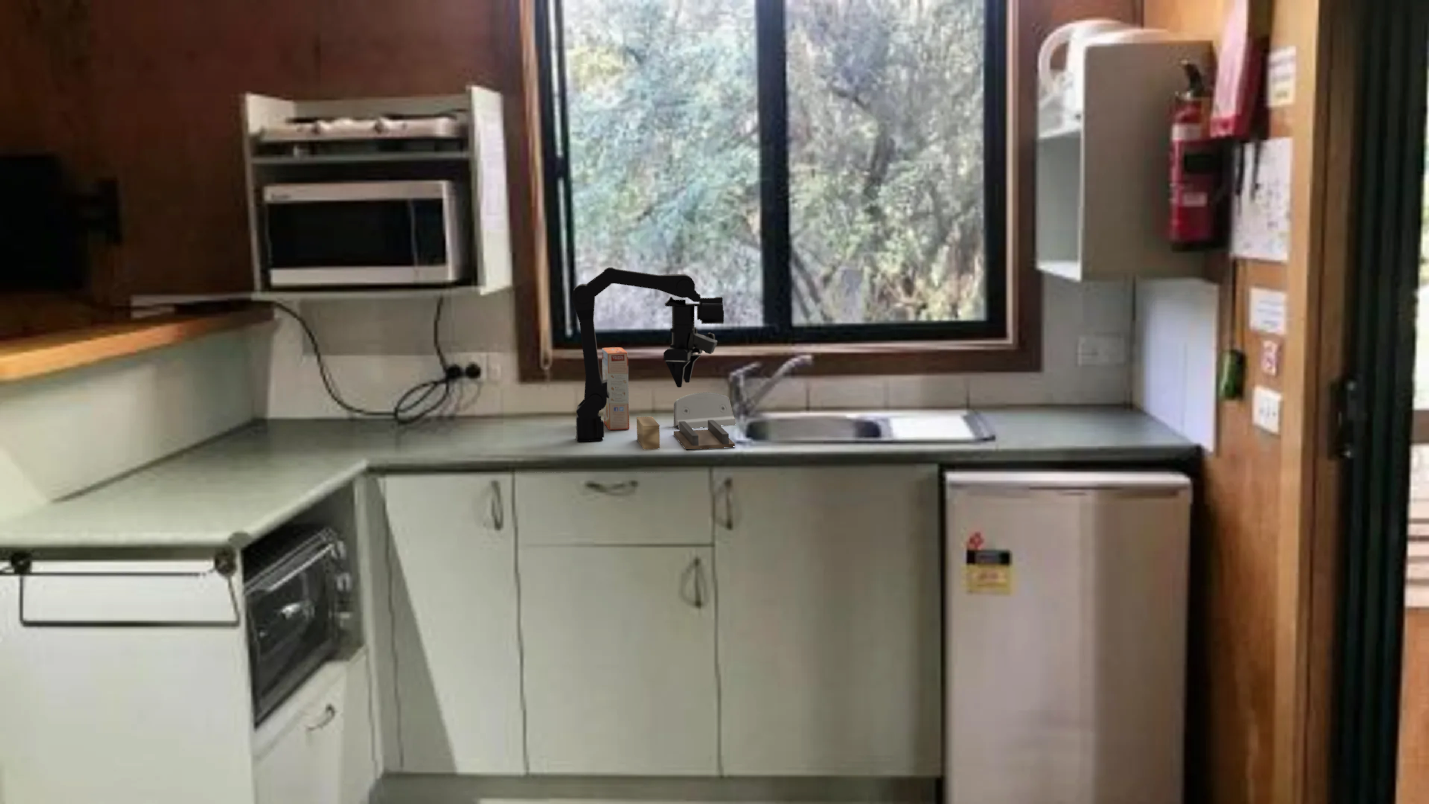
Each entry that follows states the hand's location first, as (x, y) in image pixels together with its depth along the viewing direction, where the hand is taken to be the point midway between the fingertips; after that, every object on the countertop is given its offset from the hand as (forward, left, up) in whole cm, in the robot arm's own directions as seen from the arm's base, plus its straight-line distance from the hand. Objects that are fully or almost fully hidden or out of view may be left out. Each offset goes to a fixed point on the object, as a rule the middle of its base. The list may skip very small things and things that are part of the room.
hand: (683, 384), depth 340 cm
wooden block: (-10, -8, -14) cm, 19 cm away
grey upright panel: (+8, +16, -14) cm, 23 cm away
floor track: (+4, -8, -14) cm, 16 cm away
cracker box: (-15, +21, -14) cm, 30 cm away
